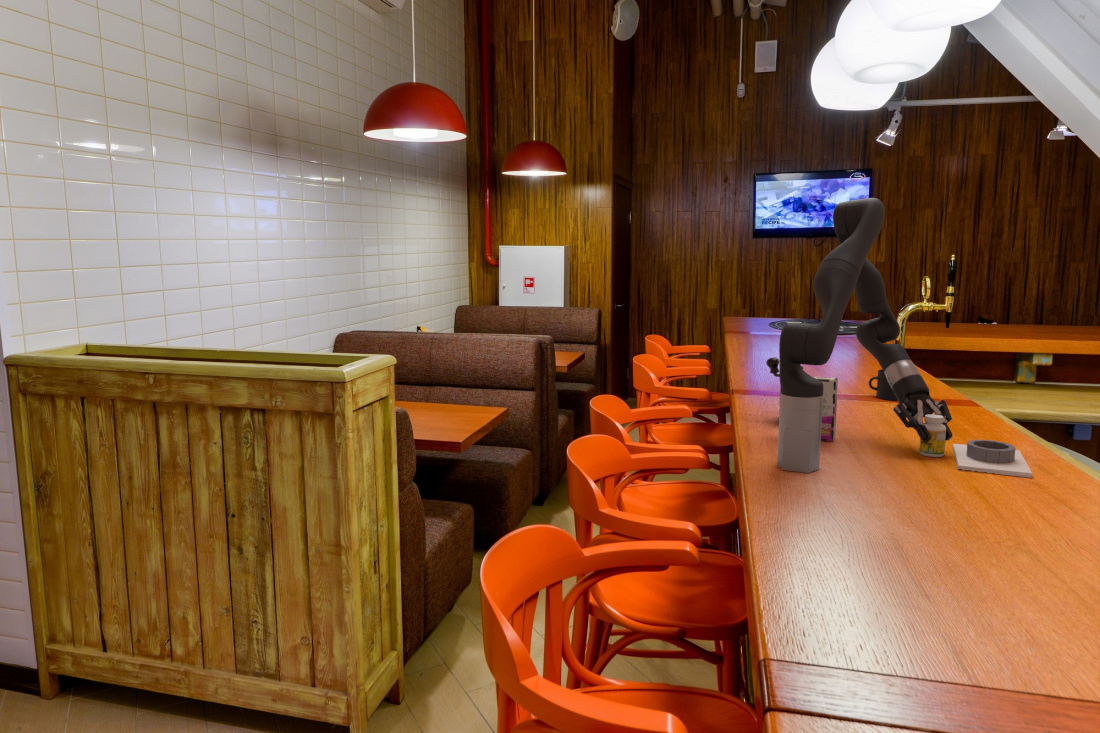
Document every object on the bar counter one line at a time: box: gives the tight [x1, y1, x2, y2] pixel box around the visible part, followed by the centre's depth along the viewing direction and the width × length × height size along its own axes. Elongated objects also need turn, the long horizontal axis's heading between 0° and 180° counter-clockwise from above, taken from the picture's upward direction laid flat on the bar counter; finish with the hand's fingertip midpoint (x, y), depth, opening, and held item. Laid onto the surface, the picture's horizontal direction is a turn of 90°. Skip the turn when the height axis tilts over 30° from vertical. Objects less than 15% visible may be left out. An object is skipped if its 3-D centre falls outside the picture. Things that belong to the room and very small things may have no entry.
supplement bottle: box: [919, 413, 946, 458], centre depth 173 cm, size 5×5×10 cm
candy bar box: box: [812, 375, 839, 443], centre depth 189 cm, size 11×5×16 cm, turn 62°
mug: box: [868, 368, 899, 402], centre depth 238 cm, size 9×12×9 cm
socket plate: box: [952, 439, 1033, 478], centre depth 167 cm, size 20×14×4 cm
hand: (938, 439), depth 171 cm, fingers closed on supplement bottle, 5 cm apart
